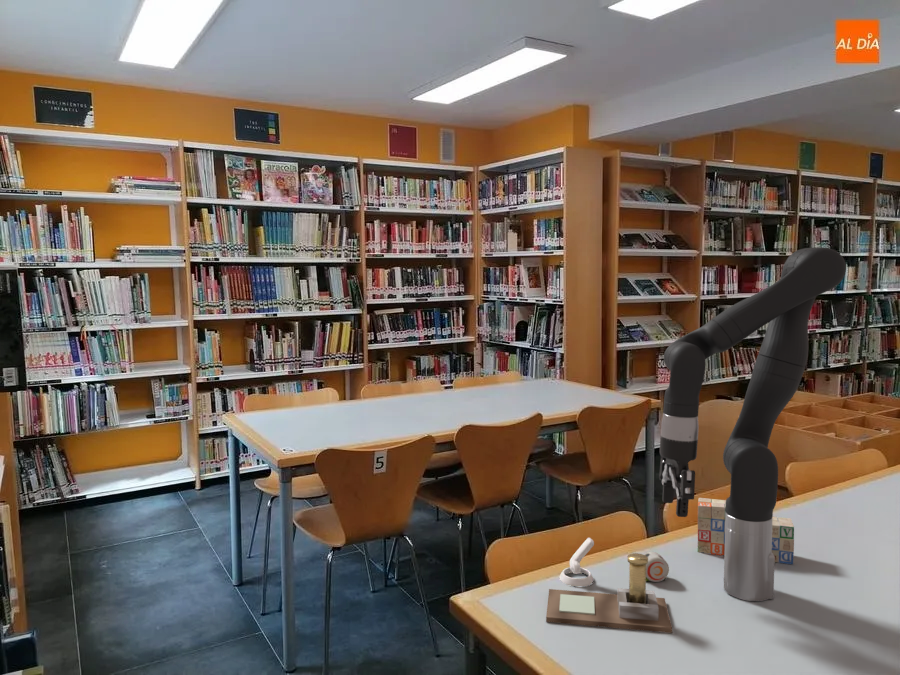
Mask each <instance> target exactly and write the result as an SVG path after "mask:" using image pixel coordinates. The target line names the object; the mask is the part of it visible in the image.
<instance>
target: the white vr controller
mask: <svg viewBox="0 0 900 675" xmlns="http://www.w3.org/2000/svg"><path fill="white" fill-rule="evenodd" d="M594 545H595V541H594V539H592V538H591V537H587V538H586V540H584V541H583V543H582V544H581V545H580V546H579V548H577V550H576V551H575V553H573V555H572V556H571V558H570V559H569V567H566V568H563V570H562V571H561V573H560V575H559V578H560V579H559V581H560V580H561V581H562V582H563V583H565V584H567V585H566V586H568V585H571V586H586V587H588V586H587V585H589V586H591V585H592V584H593V583H594V582H593V579H594V576H593V575H592V573H591V571H590V570H589V569H586V568H584V567H581V564H580V563H581V561H582V560H583V558H584V557H585V556H586V555H587V554H588V553H589V551H591V550H592V549H593V547H594ZM569 572H573V574H575V575H578V574H582V573H584V574H583V575H585V574H586V577H583V578H575V577H570V576H568V575H567V574H570V573H569ZM566 573H567V574H566ZM587 575H588V576H587ZM561 581H560V582H561ZM562 582H561V583H562ZM592 582H593V583H592ZM563 583H562V584H563ZM591 583H592V584H591ZM565 584H564V585H565ZM590 584H591V585H590ZM571 586H570V587H571Z"/></svg>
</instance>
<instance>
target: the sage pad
mask: <svg viewBox="0 0 900 675" xmlns="http://www.w3.org/2000/svg"><path fill="white" fill-rule="evenodd" d="M559 612H567V613H578V614H590V615H595V608H594V597H591V596H578V595H566V594H560V607H559Z"/></svg>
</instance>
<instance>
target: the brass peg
mask: <svg viewBox="0 0 900 675" xmlns="http://www.w3.org/2000/svg"><path fill="white" fill-rule="evenodd" d="M627 562H628V563H629V565H628V566H629V568H628V569H629V572H628V573H629V576H628V578H629V580H628V583H629V586H628V587H629V588H628V589H629V603H641V604H646V590H647V589H646V584H647V581H646V564H648V557H647V556H645V555H644V554H642V553H637V552H635V553H629V554H628V555H627Z"/></svg>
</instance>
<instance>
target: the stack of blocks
mask: <svg viewBox="0 0 900 675" xmlns="http://www.w3.org/2000/svg"><path fill="white" fill-rule="evenodd" d="M725 505H726V499H715V498H704V497H698V502H697V553H701V552H704V553H703V554H708V553H711V554H710V555H715V554H716V556H722V555H724V553H725ZM772 518H773V519H772V553H773V554H774V557H775V560H774V563H780V564H785V565H786V564H787V565H794V554H795V553H794V551H795V526H794V523H793V521H792V518H790V517H789V518H788V517H782V516H781V517H780V516H774V515H773V517H772Z"/></svg>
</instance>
